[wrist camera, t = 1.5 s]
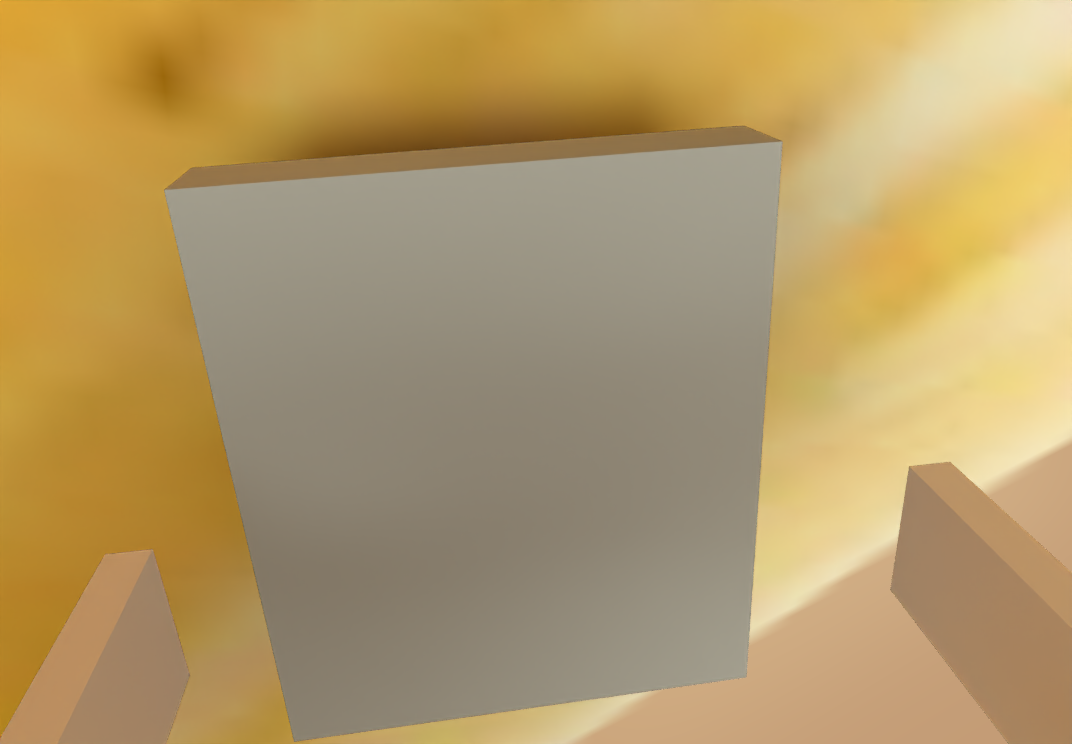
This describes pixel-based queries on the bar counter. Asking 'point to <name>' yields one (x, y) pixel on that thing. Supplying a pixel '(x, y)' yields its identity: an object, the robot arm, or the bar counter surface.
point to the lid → (491, 414)
